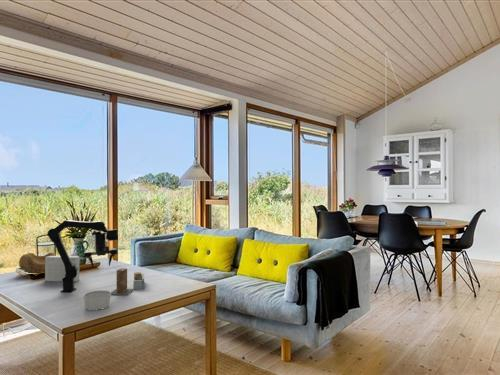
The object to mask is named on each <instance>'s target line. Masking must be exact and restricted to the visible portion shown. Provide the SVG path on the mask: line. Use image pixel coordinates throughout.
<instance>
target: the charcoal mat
mask: <svg viewBox="0 0 500 375" xmlns="http://www.w3.org/2000/svg"><path fill="white" fill-rule="evenodd" d="M133 290H134V291H135V290H136V289H134V288H127V291H125V292H124V293H117V288H115V289H113V291H110V292H111V296H123V295H127V296H129V295H130V294H131V293H132V291H133ZM134 291H133V292H134ZM129 293H130V294H129ZM128 294H129V295H128Z"/></svg>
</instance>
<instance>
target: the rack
mask: <svg viewBox="0 0 500 375" xmlns="http://www.w3.org/2000/svg"><path fill="white" fill-rule="evenodd" d="M141 273H142V280H134V279H133V289H135V288H142V289H145V272H141ZM135 290H136V289H135Z"/></svg>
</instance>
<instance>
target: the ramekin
mask: <svg viewBox="0 0 500 375" xmlns="http://www.w3.org/2000/svg"><path fill="white" fill-rule="evenodd" d="M111 292H112V291H109V290H99V289H98V290H93V291H89V292H88V291H87V292H86V293H84V295H83V301H84V308H85V309H86V310H87V309H90V310H89V311H91V310H96V309H102V308H105V309H107V308H108V307H109V305H110V302H111V296H112V295H111ZM107 306H108V307H107ZM106 307H107V308H106ZM102 310H103V309H102ZM96 311H97V310H96Z"/></svg>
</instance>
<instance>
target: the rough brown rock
mask: <svg viewBox="0 0 500 375" xmlns="http://www.w3.org/2000/svg"><path fill="white" fill-rule="evenodd" d="M48 256H57V254H56V253H55V251H52V252H51V251H50V252H47V254H44V255H36V254H35V253H33V252H27V253H26V254H23V255H21V256H20V258H19V262H18V265H19V266H18V267H19V268H20V269H21V270H23V271H24V273H25V272H28V273H42V272H45V257H48Z"/></svg>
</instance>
